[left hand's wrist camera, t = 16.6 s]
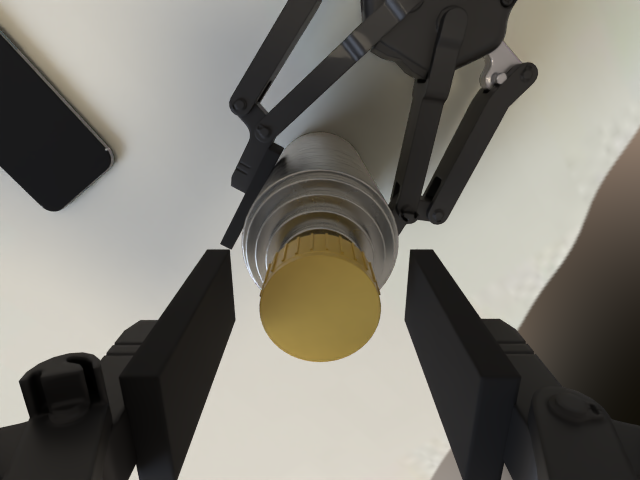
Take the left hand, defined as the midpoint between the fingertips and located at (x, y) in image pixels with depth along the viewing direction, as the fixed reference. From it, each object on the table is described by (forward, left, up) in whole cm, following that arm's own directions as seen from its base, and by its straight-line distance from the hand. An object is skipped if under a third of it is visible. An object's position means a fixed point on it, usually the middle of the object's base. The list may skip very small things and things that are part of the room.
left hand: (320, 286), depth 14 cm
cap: (0, 0, +1) cm, 1 cm away
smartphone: (-16, -16, -19) cm, 30 cm away
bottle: (0, 0, -19) cm, 19 cm away
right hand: (+2, -4, -12) cm, 13 cm away
